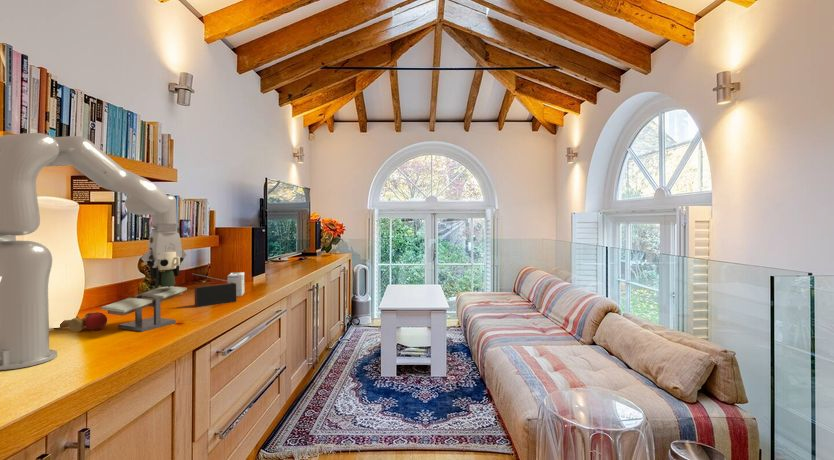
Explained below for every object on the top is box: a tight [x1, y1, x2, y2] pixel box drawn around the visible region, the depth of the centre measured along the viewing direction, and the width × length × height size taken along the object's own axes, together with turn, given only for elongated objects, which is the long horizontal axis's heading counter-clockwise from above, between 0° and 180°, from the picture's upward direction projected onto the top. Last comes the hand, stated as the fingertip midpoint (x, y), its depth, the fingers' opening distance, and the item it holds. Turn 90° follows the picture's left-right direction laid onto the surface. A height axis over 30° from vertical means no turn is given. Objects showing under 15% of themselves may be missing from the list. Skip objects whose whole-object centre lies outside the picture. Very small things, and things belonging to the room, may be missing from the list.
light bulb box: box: [227, 271, 245, 297], centre depth 196 cm, size 11×7×11 cm, turn 17°
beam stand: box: [118, 294, 177, 333], centre depth 138 cm, size 12×12×10 cm
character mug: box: [149, 252, 181, 288], centre depth 143 cm, size 11×7×13 cm, turn 88°
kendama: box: [60, 311, 108, 333], centre depth 133 cm, size 8×6×18 cm
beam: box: [100, 285, 188, 316], centre depth 137 cm, size 22×12×3 cm, turn 158°
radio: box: [190, 272, 237, 308], centre depth 174 cm, size 19×3×15 cm, turn 136°
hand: (165, 276), depth 143 cm, fingers closed on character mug, 7 cm apart
